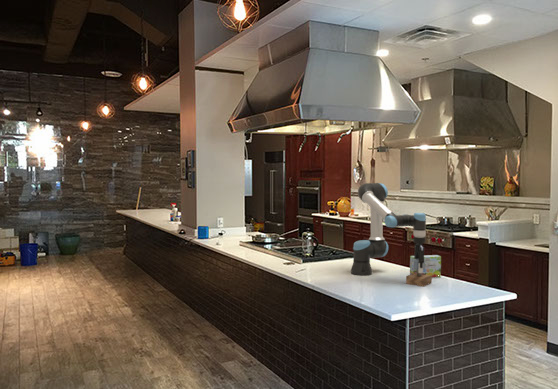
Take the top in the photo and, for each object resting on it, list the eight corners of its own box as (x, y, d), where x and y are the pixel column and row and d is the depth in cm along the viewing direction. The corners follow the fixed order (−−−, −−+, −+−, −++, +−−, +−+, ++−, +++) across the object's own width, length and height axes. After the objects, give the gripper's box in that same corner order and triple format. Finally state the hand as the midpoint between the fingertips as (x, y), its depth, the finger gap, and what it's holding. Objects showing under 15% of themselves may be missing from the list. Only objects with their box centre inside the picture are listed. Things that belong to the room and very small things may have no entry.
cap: (425, 270, 312) (425, 261, 312) (414, 269, 313) (414, 260, 313) (423, 267, 319) (423, 258, 319) (412, 267, 320) (412, 258, 320)
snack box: (413, 279, 330) (414, 257, 330) (409, 277, 336) (409, 255, 335) (441, 277, 336) (441, 255, 335) (436, 275, 341) (436, 254, 341)
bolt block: (406, 283, 316) (406, 263, 316) (414, 280, 325) (414, 261, 325) (423, 286, 308) (423, 266, 308) (431, 283, 317) (431, 263, 317)
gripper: (409, 234, 326) (409, 268, 327) (417, 238, 305) (417, 274, 306) (421, 234, 325) (420, 268, 326) (429, 238, 305) (429, 274, 306)
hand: (418, 271), depth 316 cm, fingers closed on cap, 7 cm apart
